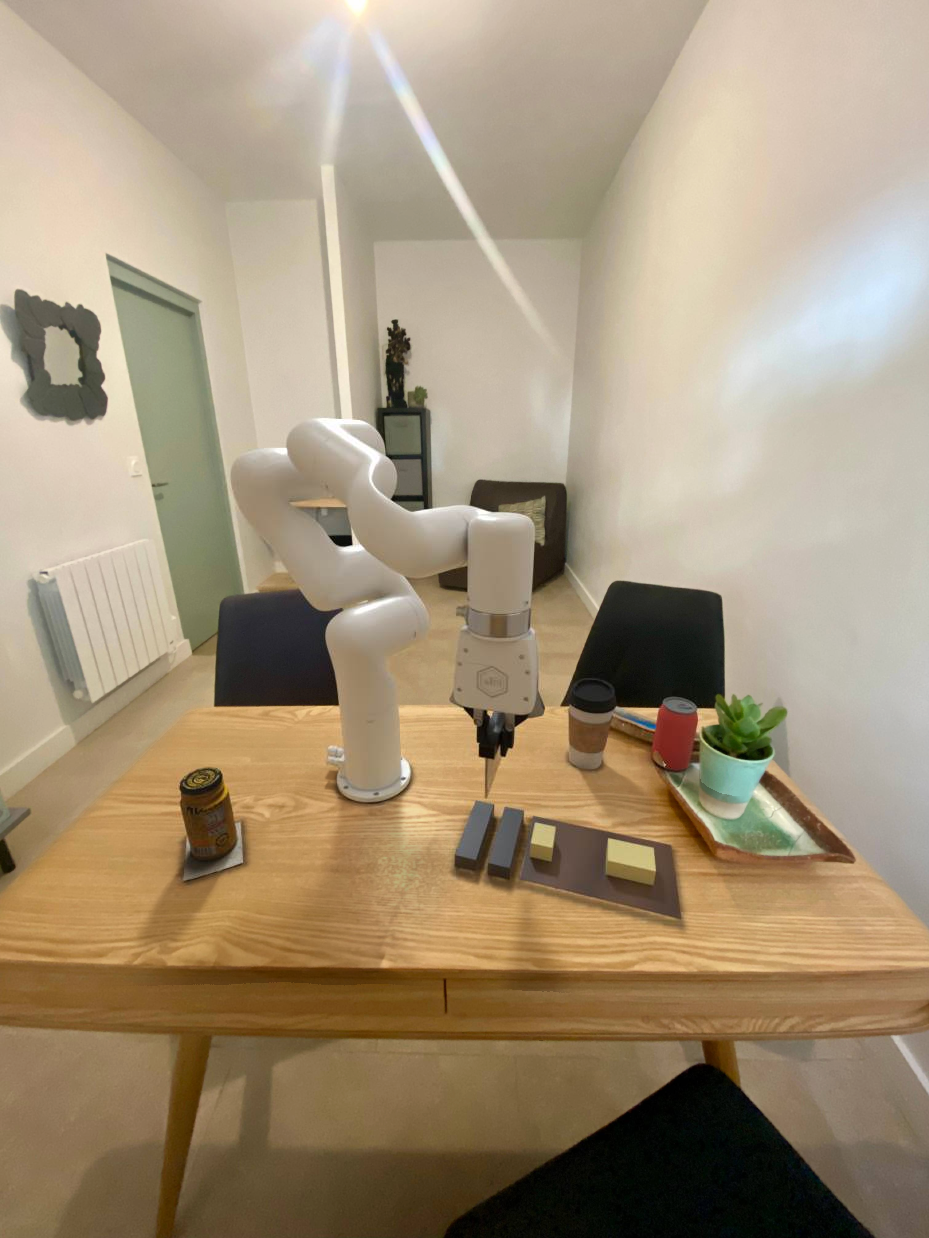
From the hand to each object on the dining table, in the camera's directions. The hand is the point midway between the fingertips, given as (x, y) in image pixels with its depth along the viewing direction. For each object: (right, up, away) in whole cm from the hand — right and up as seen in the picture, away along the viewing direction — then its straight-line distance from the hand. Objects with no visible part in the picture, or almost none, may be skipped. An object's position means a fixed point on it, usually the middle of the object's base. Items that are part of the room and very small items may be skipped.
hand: (495, 748), depth 64 cm
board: (+14, -17, +3) cm, 23 cm away
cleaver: (0, -4, +1) cm, 4 cm away
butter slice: (+7, -16, +5) cm, 18 cm away
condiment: (-40, -16, +5) cm, 44 cm away
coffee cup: (+18, -9, +26) cm, 33 cm away
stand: (0, -16, +6) cm, 17 cm away
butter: (+18, -17, +2) cm, 25 cm away
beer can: (+34, -9, +25) cm, 43 cm away
